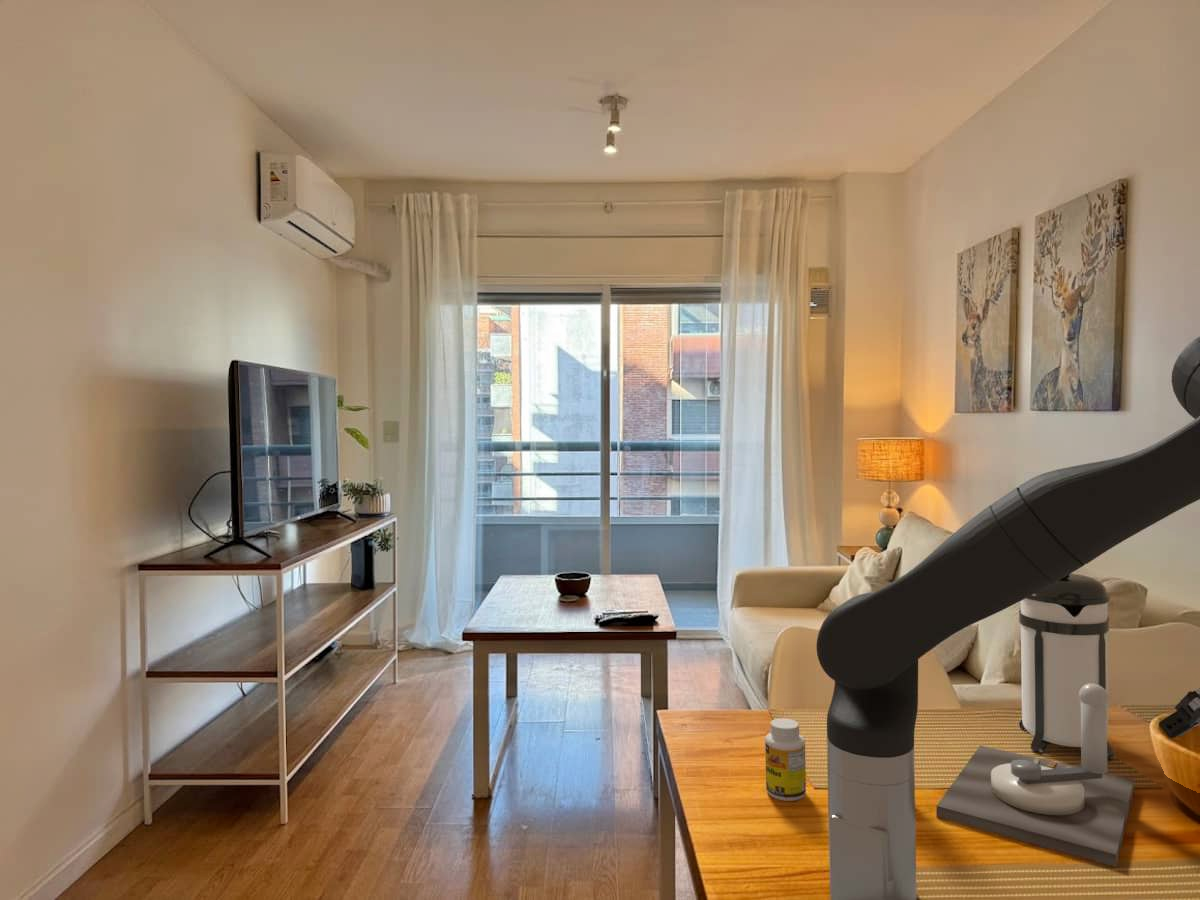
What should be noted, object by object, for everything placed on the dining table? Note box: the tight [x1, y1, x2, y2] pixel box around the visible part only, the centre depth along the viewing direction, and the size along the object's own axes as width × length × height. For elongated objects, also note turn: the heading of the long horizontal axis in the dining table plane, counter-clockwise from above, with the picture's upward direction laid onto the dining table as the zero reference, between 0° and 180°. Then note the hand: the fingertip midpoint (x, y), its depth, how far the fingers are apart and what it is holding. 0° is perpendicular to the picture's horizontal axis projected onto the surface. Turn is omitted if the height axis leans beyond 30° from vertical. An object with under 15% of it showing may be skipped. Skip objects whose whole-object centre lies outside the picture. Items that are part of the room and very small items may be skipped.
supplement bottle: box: [764, 717, 807, 802], centre depth 110 cm, size 6×6×10 cm
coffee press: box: [1018, 573, 1115, 761], centre depth 126 cm, size 17×16×30 cm
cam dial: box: [991, 683, 1109, 815], centre depth 105 cm, size 16×11×15 cm
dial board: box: [935, 745, 1135, 868], centre depth 106 cm, size 24×20×2 cm
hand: (1167, 730), depth 97 cm, fingers closed
